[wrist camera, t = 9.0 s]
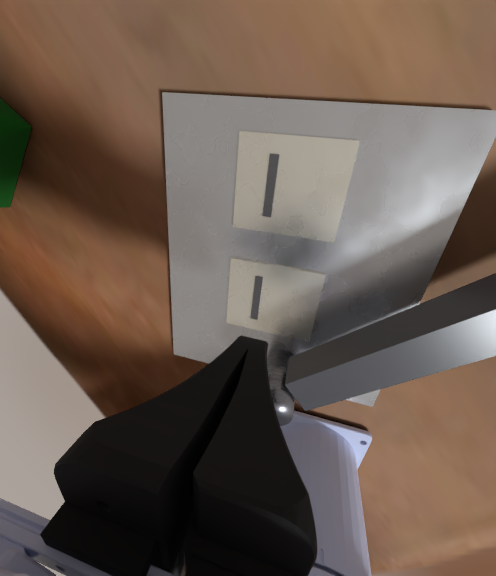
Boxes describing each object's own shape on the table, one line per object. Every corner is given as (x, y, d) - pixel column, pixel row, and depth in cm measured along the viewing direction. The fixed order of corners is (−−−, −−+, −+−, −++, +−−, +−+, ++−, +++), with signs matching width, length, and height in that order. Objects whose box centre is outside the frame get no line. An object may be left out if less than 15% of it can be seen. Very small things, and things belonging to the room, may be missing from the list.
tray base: (371, 400, 19) (387, 469, 14) (177, 349, 22) (141, 394, 17) (498, 114, 11) (618, 74, 7) (168, 95, 14) (98, 58, 9)
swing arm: (307, 381, 17) (305, 412, 15) (288, 356, 17) (284, 384, 14) (641, 265, 10) (730, 290, 8) (626, 217, 10) (715, 230, 8)
